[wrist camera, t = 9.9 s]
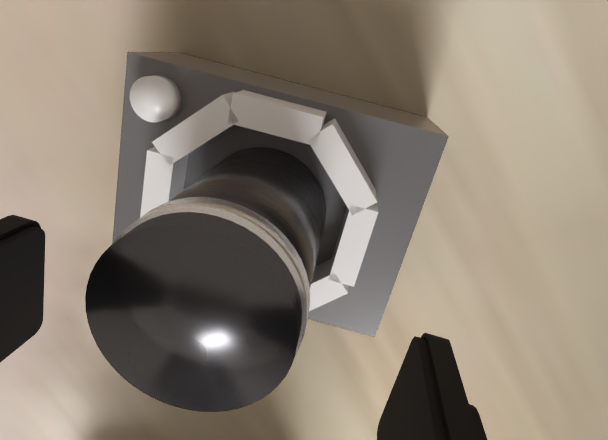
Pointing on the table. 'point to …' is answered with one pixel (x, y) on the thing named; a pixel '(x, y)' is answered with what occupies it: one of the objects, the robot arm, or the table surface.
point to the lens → (213, 284)
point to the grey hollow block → (297, 142)
